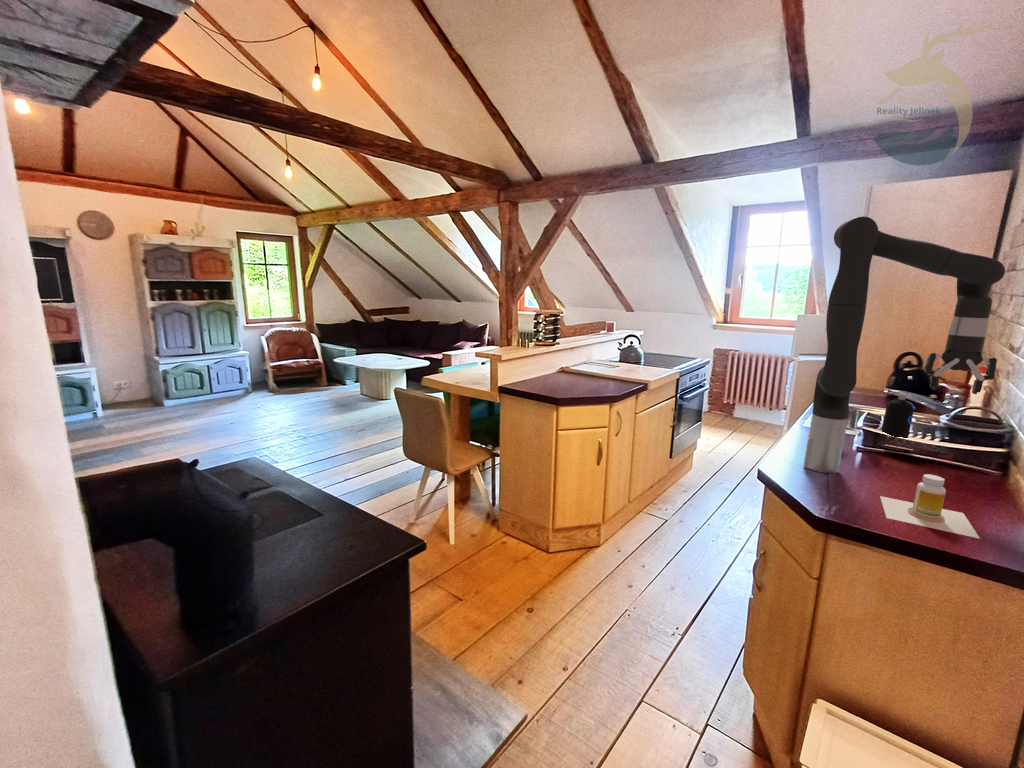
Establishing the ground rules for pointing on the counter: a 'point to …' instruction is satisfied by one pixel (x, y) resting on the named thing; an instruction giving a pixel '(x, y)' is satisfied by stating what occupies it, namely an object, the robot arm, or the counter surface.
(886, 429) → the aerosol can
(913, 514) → the coaster
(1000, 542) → the counter surface
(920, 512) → the supplement bottle
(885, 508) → the mat
